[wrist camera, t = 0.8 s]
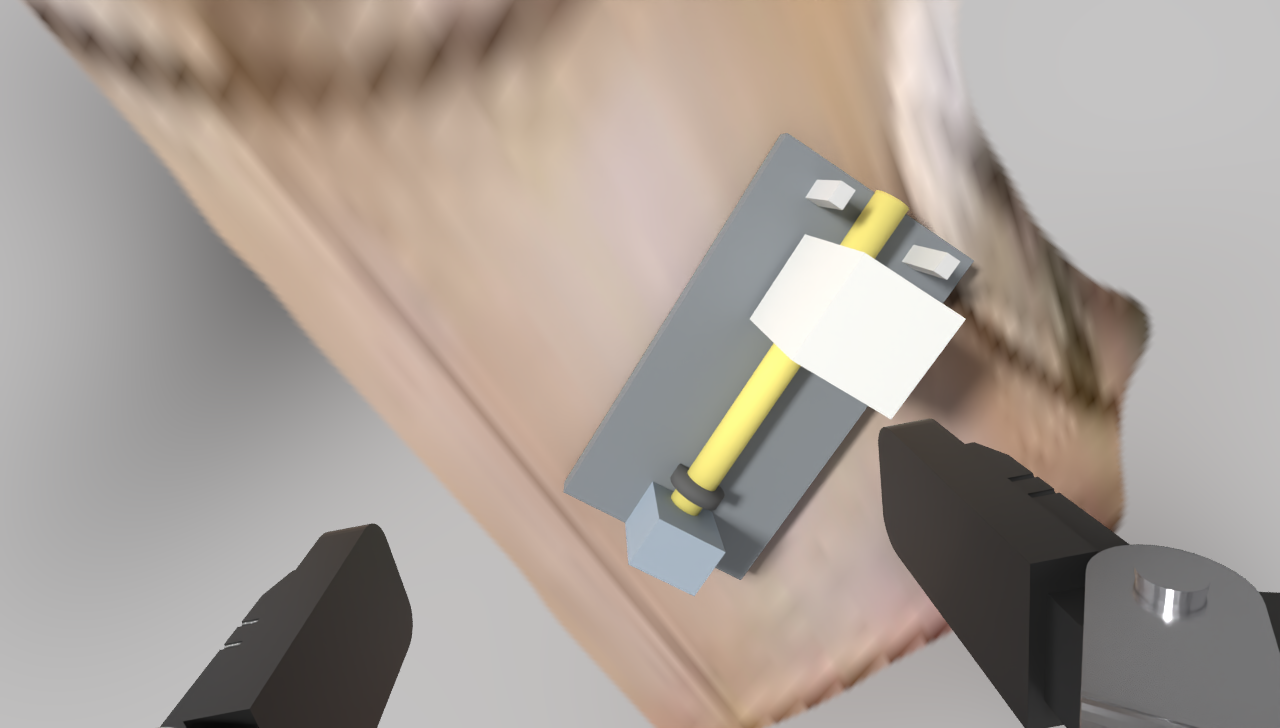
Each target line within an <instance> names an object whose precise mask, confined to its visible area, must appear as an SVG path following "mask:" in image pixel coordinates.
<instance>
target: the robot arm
mask: <svg viewBox="0 0 1280 728" xmlns="http://www.w3.org/2000/svg"><path fill="white" fill-rule="evenodd" d="M878 446H879V460H880V475H881V489H882V504H883V516H884V522H885V526H886V530H887V533H888V536H889V539H890V542H891V544H892V546H893V548H894V550H895V552H896V553H897V555H898V556H899V558H900V559H901V561H902V562H903V563H904V565H905V566H906V567H907V569H908V570H909V571H910V573H911V574H912V575H913V577H914V578H915V580H916V581H917V582H918V584H919V585H920V586H921V588H922V589H923V590H924V592H925V593H926V594H927V596H928V597H929V599H930V600H931V601H932V603H933V604H934V605H935V607H936V608H937V609H938V611H939V612H940V613H941V615H942V616H943V618H944V619H945V620H946V622H947V623H948V624H949V626H950V627H951V628H952V630H953V631H954V632H955V634H956V635H957V637H958V638H959V639H960V641H961V642H962V643H963V645H964V646H965V647H966V649H967V650H968V651H969V653H970V654H971V655H972V657H973V658H974V660H975V661H976V662H977V664H978V665H979V666H980V668H981V669H982V670H983V672H984V673H985V674H986V676H987V677H988V679H989V680H990V681H991V683H992V684H993V685H994V687H995V688H996V689H997V691H998V692H999V694H1000V695H1001V696H1002V698H1003V699H1004V700H1005V702H1006V703H1007V704H1008V706H1009V707H1010V709H1011V710H1012V711H1013V713H1014V714H1015V715H1016V717H1017V718H1018V719H1019V721H1020V722H1021V723H1022V725H1023V726H1024V727H1025V728H1049V727H1054V726H1060V725H1065V726H1066V728H1280V593H1271V592H1269V593H1268V592H1258V591H1257V590H1256V588H1255V587H1254V586H1253V585H1252V584H1250V583H1249V582H1248V581H1247V580H1246V579H1245V578H1243V577H1242V576H1240V575H1239V574H1237V573H1236V572H1234V571H1233V570H1231V569H1229V568H1227V567H1226V566H1224V565H1222V564H1220V563H1217V562H1215V561H1213V560H1210V559H1208V558H1205V557H1203V556H1200V555H1197V554H1194V553H1190V552H1186V551H1183V550H1179V549H1174V548H1169V547H1164V546H1155V545H1139V544H1138V545H1129V544H1128V543H1127V542H1125V541H1124V540H1123V539H1121V538H1120V537H1119V536H1117V535H1116V534H1115V533H1113V532H1112V531H1110V530H1109V529H1108V528H1106V527H1105V526H1104V525H1102V524H1101V523H1100V522H1098V521H1097V520H1096V519H1094V518H1093V517H1092V516H1090V515H1089V514H1087V513H1086V512H1085V511H1083V510H1082V509H1081V508H1079V507H1078V506H1077V505H1075V504H1074V503H1073V502H1071V501H1070V500H1068V499H1067V498H1066V497H1064V496H1063V495H1062V494H1060V493H1055V492H1054V488H1052V487H1051V486H1050V485H1048V484H1047V483H1045V482H1044V481H1043V480H1041V479H1040V478H1039V477H1035V478H1034V476H1033V473H1032V472H1031V471H1029V470H1028V469H1027V468H1025V467H1024V466H1022V465H1021V464H1020V463H1018V462H1017V461H1016V460H1014V459H1013V458H1012V457H1010V456H1009V455H1007V454H1004V453H1001V452H999V451H996V450H993V449H991V448H988V447H985V446H983V445H980V444H977V443H975V442H974V443H968V444H964V443H963V442H962V441H960V440H959V439H958V438H956V437H955V436H954V435H953V434H951V433H950V432H949V431H948V430H946V429H945V428H944V427H943V426H941V425H940V424H939V423H938V422H936V421H935V420H933V419H925V420H919V421H914V422H909V423H904V424H898V425H893V426H888V427H883V428H882V429H881V430H880V433H879V439H878ZM412 622H413V621H412V611H411V606H410V603H409V600H408V597H407V594H406V591H405V589H404V586H403V583H402V580H401V577H400V575H399V572H398V570H397V566H396V564H395V561H394V558H393V556H392V553H391V550H390V547H389V544H388V542H387V539H386V537H385V534H384V532H383V531H382V529H381V528H380V527H379V526H378V525H376V524H368V525H362V526H358V527H352V528H346V529H342V530H336V531H331V532H327V533H324V534H323V535H322V536H321V537H320V538H319V539H318V541H317V542H316V543H315V545H314V546H313V547H312V549H311V550H310V551H309V553H308V554H307V555H306V557H305V558H304V559H303V561H302V562H301V563H300V565H299V566H298V568H297V569H296V570H294V571H292V572H291V573H289V574H288V575H287V576H286V577H285V578H283V579H282V580H281V581H280V582H278V583H277V584H276V585H275V586H273V587H272V588H271V589H270V590H269V591H267V592H266V593H265V594H264V595H262V597H261V598H260V599H259V600H258V602H257V603H256V604H255V606H254V607H253V608H252V609H251V611H250V612H249V613H248V615H247V616H246V617H245V619H244V620H243V621H242V626H241V627H237V629H236V630H235V631H234V633H233V634H232V635H231V636H230V638H229V639H228V640H227V642H226V643H225V649H223V650H220V651H219V652H218V653H217V654H216V656H215V657H214V658H213V659H212V661H211V662H210V663H209V665H208V666H207V667H206V669H205V670H204V671H203V672H202V674H201V675H200V676H199V678H198V679H197V680H196V681H195V683H194V684H193V685H192V686H191V688H190V689H189V690H188V692H187V693H186V694H185V695H184V697H183V698H182V699H181V701H180V702H179V703H178V704H177V706H176V707H175V708H174V710H173V711H172V712H171V713H170V715H169V716H168V717H167V719H166V720H165V721H164V722H163V724H162V725H161V727H160V728H377V726H378V724H379V721H380V719H381V716H382V714H383V711H384V708H385V706H386V704H387V701H388V699H389V696H390V694H391V691H392V688H393V686H394V684H395V681H396V678H397V676H398V673H399V671H400V668H401V666H402V663H403V660H404V658H405V656H406V653H407V651H408V648H409V645H410V642H411V638H412V627H413V623H412Z"/></svg>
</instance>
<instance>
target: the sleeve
mask: <svg viewBox="0 0 1280 728" xmlns="http://www.w3.org/2000/svg"><path fill="white" fill-rule="evenodd" d="M750 320H751V321H752V322H753V323H754V324H755V325H756V326H757V327H758V328H759V329H760V330H761V331H762V332H763V333H764V334H765V335H766V336H767V337H768V338H769V339H770V340H771V341H772V342H773V343H774V344H775V345H776V346H778V347H779V348H780V349H781V350H782V351H783V352H784V353H785V354H786V355H787V356H788V357H789V358H790V359H791V360H792V361H794V362H795V363H797V364H799V365H800V366H802V367H804V368H806V369H807V370H809V371H811V372H812V373H814V374H816V375H817V376H819V377H821V378H822V379H824V380H826V381H827V382H829V383H831V384H832V385H834V386H836V387H837V388H839V389H841V390H843V391H844V392H846V393H848V394H849V395H851V396H853V397H854V398H856V399H858V400H859V401H861V402H863V403H864V404H866V405H868V406H869V407H871V408H873V409H874V410H876V411H878V412H879V413H881V414H883V415H885V416H886V417H888V418H890V419H892V418H893V416H894V415H895V414H896V412H897V411H898V410H899V408H900V407H901V406H902V404H903V403H904V401H905V400H906V399H907V397H908V396H909V395H910V393H911V392H912V391H913V389H914V388H915V387H916V385H917V384H918V383H919V381H920V380H921V379H922V377H923V376H924V375H925V373H926V372H927V371H928V369H929V368H930V367H931V365H932V364H933V363H934V361H935V360H936V358H937V357H938V356H939V354H940V353H941V352H942V350H943V349H944V348H945V346H946V345H947V344H948V342H949V341H950V340H951V338H952V337H953V336H954V334H955V333H956V332H957V330H958V329H959V328H960V326H961V325H962V324H963V322H964V321H965V318H964V317H962V316H961V315H959V314H958V313H956V312H954V311H953V310H951V309H950V308H948V307H947V306H945V305H944V304H942V303H941V302H939V301H938V300H936V299H935V298H933V297H932V296H930V295H929V294H927V293H926V292H924V291H922V290H921V289H919V288H918V287H916V286H915V285H913V284H912V283H910V282H909V281H907V280H906V279H904V278H903V277H901V276H900V275H898V274H897V273H895V272H894V271H892V270H891V269H889V268H887V267H886V266H884V265H883V264H881V263H880V262H878V261H877V260H875V259H874V258H872V257H871V256H869V255H868V254H866V253H864V252H861V251H858V250H855V249H851V248H848V247H845V246H842V245H838V244H835V243H832V242H829V241H825V240H822V239H819V238H816V237H812V236H809V235H806V234H805V235H804V237H803V238H802V240H801V241H800V243H799V244H798V246H797V247H796V249H795V250H794V252H793V253H792V255H791V256H790V258H789V259H788V261H787V263H786V264H785V266H784V267H783V269H782V270H781V272H780V273H779V275H778V276H777V278H776V279H775V281H774V282H773V284H772V285H771V287H770V288H769V290H768V292H767V293H766V295H765V296H764V298H763V299H762V301H761V302H760V304H759V305H758V307H757V308H756V310H755V311H754V313H753V314H752V316H751V317H750Z"/></svg>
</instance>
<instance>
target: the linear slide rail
mask: <svg viewBox="0 0 1280 728" xmlns="http://www.w3.org/2000/svg"><path fill="white" fill-rule="evenodd" d="M908 210H909V208H908V207H907V206H906V205H905V204H904V203H903V202H901V201H900V200H898V199H897V198H895V197H893V196H892V195H890V194H887V193H885V192H883V191H879V190H876V192H875V193H874V192H873V191H871V190H870V189H868V188H867V187H865V186H864V185H863V184H861V183H860V182H858V181H857V180H855V179H854V178H852V177H851V176H849V175H848V174H846V173H845V172H844V171H842V170H841V169H839V168H838V167H836V166H835V165H833V164H832V163H830V162H829V161H827V160H826V159H825V158H823V157H822V156H820V155H819V154H817V153H816V152H814V151H813V150H811V149H810V148H808V147H807V146H806V145H804V144H803V143H801V142H800V141H798V140H797V139H795V138H794V137H792V136H791V135H789V134H788V133H785V134H781V135H780V136H779V138H778V139H777V141H776V143H775V144H774V146H773V147H772V149H771V151H770V152H769V154H768V155H767V157H766V159H765V160H764V162H763V164H762V165H761V167H760V168H759V170H758V172H757V173H756V175H755V176H754V178H753V180H752V181H751V183H750V184H749V186H748V188H747V189H746V191H745V192H744V194H743V196H742V197H741V199H740V201H739V202H738V204H737V205H736V207H735V209H734V210H733V212H732V213H731V215H730V217H729V218H728V220H727V221H726V223H725V225H724V226H723V228H722V229H721V231H720V233H719V234H718V236H717V238H716V239H715V241H714V242H713V244H712V246H711V247H710V249H709V250H708V252H707V254H706V255H705V257H704V258H703V260H702V262H701V263H700V265H699V266H698V268H697V270H696V271H695V273H694V275H693V276H692V278H691V279H690V281H689V283H688V284H687V286H686V287H685V289H684V291H683V292H682V294H681V295H680V297H679V299H678V300H677V302H676V303H675V305H674V307H673V308H672V310H671V312H670V313H669V315H668V316H667V318H666V320H665V321H664V323H663V324H662V326H661V328H660V329H659V331H658V332H657V334H656V336H655V337H654V339H653V340H652V342H651V344H650V345H649V347H648V349H647V350H646V352H645V353H644V355H643V357H642V358H641V360H640V361H639V363H638V365H637V366H636V368H635V369H634V371H633V373H632V374H631V376H630V378H629V379H628V381H627V382H626V384H625V386H624V387H623V389H622V390H621V392H620V394H619V395H618V397H617V398H616V400H615V402H614V403H613V405H612V406H611V408H610V410H609V411H608V413H607V415H606V416H605V418H604V419H603V421H602V423H601V424H600V426H599V427H598V429H597V431H596V432H595V434H594V435H593V437H592V439H591V440H590V442H589V443H588V445H587V447H586V448H585V450H584V452H583V453H582V455H581V456H580V458H579V460H578V461H577V463H576V464H575V466H574V468H573V469H572V471H571V472H570V474H569V476H568V477H567V479H566V480H565V483H564V493H566V494H568V495H570V496H572V497H574V498H576V499H578V500H580V501H582V502H584V503H586V504H588V505H590V506H592V507H594V508H596V509H598V510H601V511H603V512H605V513H607V514H609V515H611V516H613V517H615V518H617V519H619V520H621V521H623V522H625V526H626V539H627V551H628V564H629V565H631V566H633V567H635V568H637V569H639V570H641V571H643V572H645V573H647V574H649V575H651V576H653V577H656V578H658V579H660V580H662V581H664V582H666V583H668V584H670V585H672V586H674V587H676V588H678V589H680V590H682V591H685V592H687V593H689V594H691V595H693V596H695V595H696V593H697V592H698V590H699V589H700V588H701V586H702V585H703V583H704V582H705V581H706V579H707V578H708V576H709V575H710V574H711V572H712V571H713V569H714V568H717V569H719V570H721V571H723V572H725V573H727V574H729V575H731V576H733V577H735V578H737V579H739V580H741V579H742V578H743V577H744V575H745V574H746V572H747V571H748V570H749V568H750V567H751V566H752V564H753V563H754V561H755V560H756V559H757V557H758V556H759V555H760V553H761V552H762V550H763V549H764V548H765V546H766V545H767V544H768V542H769V541H770V540H771V538H772V537H773V535H774V534H775V533H776V531H777V530H778V529H779V527H780V526H781V524H782V523H783V522H784V520H785V519H786V518H787V516H788V515H789V513H790V512H791V511H792V509H793V508H794V507H795V505H796V504H797V503H798V501H799V500H800V498H801V497H802V496H803V494H804V493H805V492H806V490H807V489H808V487H809V486H810V485H811V483H812V482H813V481H814V479H815V478H816V477H817V475H818V474H819V472H820V471H821V470H822V468H823V467H824V466H825V464H826V463H827V461H828V460H829V459H830V457H831V456H832V455H833V453H834V452H835V450H836V449H837V448H838V446H839V445H840V444H841V442H842V441H843V440H844V438H845V437H846V435H847V434H848V433H849V431H850V430H851V429H852V427H853V426H854V424H855V423H856V422H857V420H858V419H859V418H860V416H861V415H862V413H863V412H864V411H865V409H866V408H867V407H868V405H866V404H864V403H863V402H861V401H859V400H858V399H856V398H854V397H853V396H851V395H849V394H848V393H846V392H844V391H843V390H841V389H839V388H837V387H836V386H834V385H832V384H831V383H829V382H827V381H826V380H824V379H822V378H821V377H819V376H817V375H816V374H814V373H812V372H811V371H809V370H807V369H806V368H804V367H802V366H800V365H799V364H797V363H795V362H794V361H792V360H791V359H790V358H789V357H788V356H787V355H786V354H785V353H784V352H783V351H782V350H781V349H780V348H779V347H778V346H776V345H775V344H774V343H773V342H772V341H771V340H770V339H769V338H768V337H767V336H766V335H765V334H764V333H763V332H762V331H761V330H760V329H759V328H758V327H757V326H756V325H755V324H754V323H753V322H752V321H751V320H750V317H751V316H752V314H753V313H754V311H755V310H756V308H757V307H758V305H759V304H760V302H761V301H762V299H763V298H764V296H765V295H766V293H767V292H768V290H769V288H770V287H771V285H772V284H773V282H774V281H775V279H776V278H777V276H778V275H779V273H780V272H781V270H782V269H783V267H784V266H785V264H786V263H787V261H788V259H789V258H790V256H791V255H792V253H793V252H794V250H795V249H796V247H797V246H798V244H799V243H800V241H801V240H802V238H803V237H804V235H805V234H806V235H809V236H812V237H816V238H819V239H822V240H825V241H829V242H832V243H835V244H838V245H842V246H845V247H848V248H851V249H855V250H858V251H861V252H864V253H866V254H868V255H869V256H871V257H872V258H874V259H875V260H877V261H878V262H880V263H881V264H883V265H884V266H886V267H887V268H889V269H891V270H892V271H894V272H895V273H897V274H898V275H900V276H901V277H903V278H904V279H906V280H907V281H909V282H910V283H912V284H913V285H915V286H916V287H918V288H919V289H921V290H922V291H924V292H926V293H927V294H929V295H930V296H932V297H933V298H935V299H936V300H938V301H939V302H941V303H942V304H943V303H944V301H945V300H946V298H947V297H948V296H949V294H950V293H951V292H952V290H953V289H954V287H955V286H956V285H957V283H958V282H959V281H960V279H961V278H962V276H963V275H964V274H965V272H966V271H967V270H968V268H969V267H970V266H971V264H972V263H973V261H974V260H972V259H971V258H969V257H968V256H966V255H965V254H963V253H962V252H960V251H959V250H958V249H956V248H955V247H953V246H952V245H950V244H949V243H947V242H946V241H944V240H943V239H941V238H940V237H939V236H937V235H936V234H934V233H933V232H931V231H930V230H928V229H927V228H925V227H924V226H922V225H921V224H920V223H918V222H917V221H915V220H914V219H912V218H911V217H909V216H908V215H906V213H907V211H908Z"/></svg>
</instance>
